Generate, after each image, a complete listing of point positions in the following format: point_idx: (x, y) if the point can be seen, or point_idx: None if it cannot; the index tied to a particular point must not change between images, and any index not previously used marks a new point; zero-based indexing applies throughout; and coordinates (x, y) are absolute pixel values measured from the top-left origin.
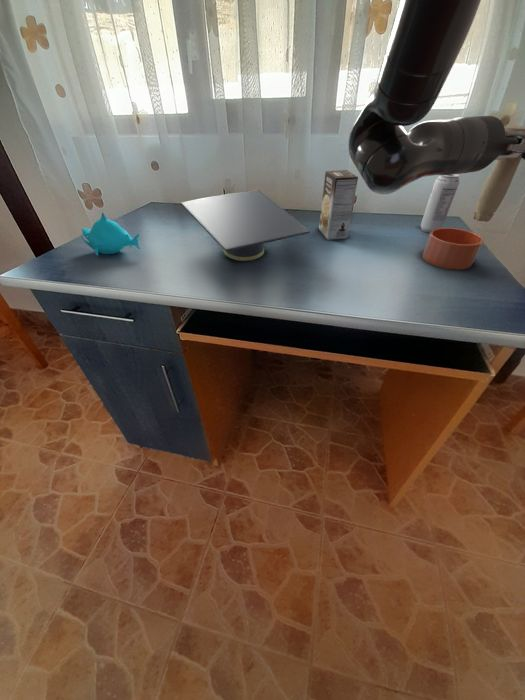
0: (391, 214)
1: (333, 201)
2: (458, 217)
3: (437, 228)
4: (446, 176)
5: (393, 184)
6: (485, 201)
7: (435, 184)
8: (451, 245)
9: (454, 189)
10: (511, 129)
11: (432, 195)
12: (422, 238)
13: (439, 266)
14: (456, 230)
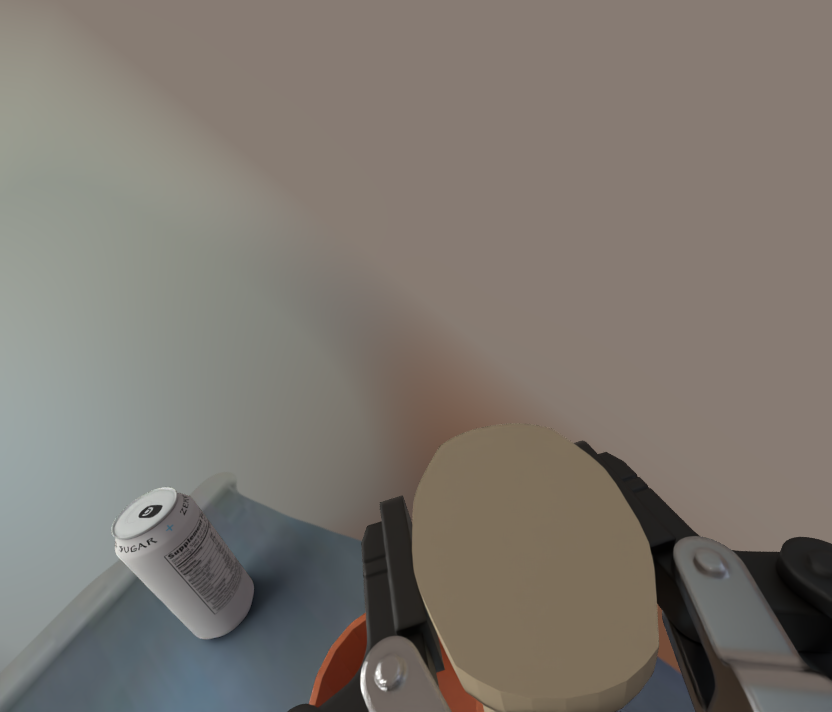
0: (59, 653)
1: None
2: (232, 485)
3: (247, 600)
4: (143, 531)
5: None
6: None
7: (128, 564)
8: None
9: (200, 524)
10: (605, 697)
11: (151, 584)
12: (249, 685)
13: None
14: (347, 640)
